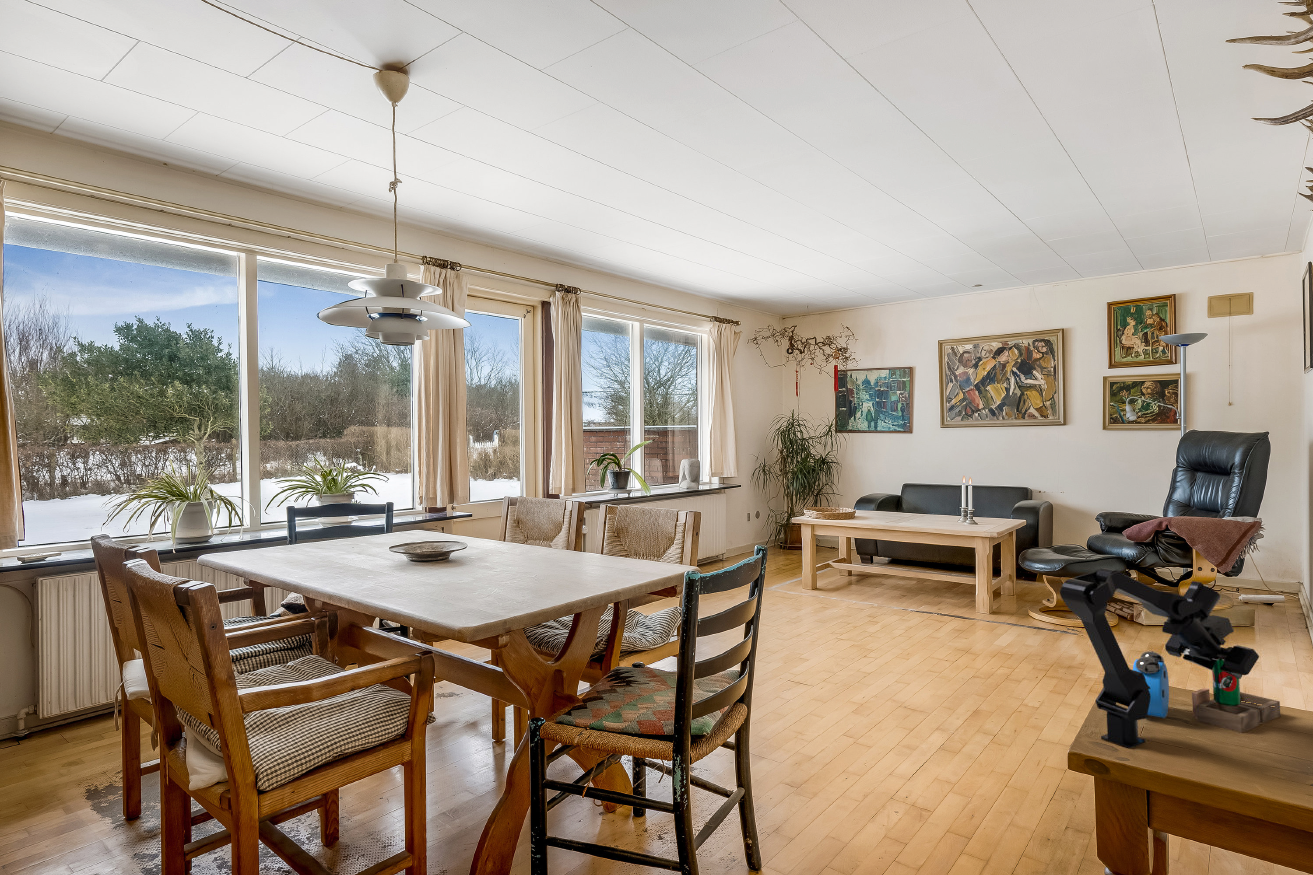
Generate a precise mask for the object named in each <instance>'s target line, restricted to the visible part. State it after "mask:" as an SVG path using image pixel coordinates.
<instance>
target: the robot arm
mask: <svg viewBox="0 0 1313 875" xmlns="http://www.w3.org/2000/svg"><path fill="white" fill-rule="evenodd" d="M1116 592H1118V593H1120V594H1121V595H1124V596H1126V597H1128V598H1130V599H1132V600H1135V601H1137V602H1139V603H1140V604H1141V605H1142V607H1143V609H1144V610H1145V609H1146V611H1148V612H1149V613H1150V614H1152V615H1154V616H1158V617H1162V618H1167V619H1166V621H1163V626H1162V628H1161V629H1162V630H1161V631H1162V633H1165V634H1170V635H1171V636H1170V637H1169V639H1167V642H1166V643H1165V645H1164V649H1165V651H1166V652H1167V653H1168V654H1169V655H1170V656H1173V657H1175V658H1176V657H1177V658H1181V657H1182V658H1183V660H1185V661H1188V662H1189V663H1192V664H1196V665H1197V666H1200V667H1202V668H1205V669H1206V670H1210V671H1212V663H1211V660H1212V659H1214V660H1219V659H1220V658H1222V660H1223V661H1224V662H1223V663H1224V664H1223V665H1222V667H1221V668H1220V670H1222V671H1224V672H1226V673H1228V674H1230V675H1232V676H1234V677H1236V678H1238V679H1239V680H1241V679H1242V677H1243V676H1247V675H1249V674H1250V672H1251V671H1252V670H1253V667H1254V666H1255V665H1256V663H1257V661H1258V660H1259V658H1260V655H1259V653H1258V652H1256V650H1255V649H1254V648H1251V647H1246V646H1241V645H1238V644H1237V645H1233V646H1228V647H1222V646H1224V645H1225V644H1226V640H1225V638H1226V637H1227V636H1229V635H1230V634H1232V633H1234V631H1235V630H1234V627H1233V625H1232V623H1231V621H1230V618H1228V617H1224V616H1219V615H1214V614H1213V615H1212V614H1211V613H1212V611H1213V610H1214V608H1215V607H1216V605H1217V604H1218V602H1219V601H1220V600H1221V594H1220V593H1219V592H1218V591H1216V590H1214V589H1212V588H1211V587H1210V586H1206V585H1204V584H1203V583H1202V582H1200V581H1194V580H1192V581H1191V582H1190V585H1189V587H1188V588H1187V589H1186V592H1185V593H1184V595H1183V594H1182V595H1181V594H1176V593H1173V592H1169V591H1168V592H1167V591H1163V590H1158V589H1156V588H1154V587H1152V586H1150V585H1147V584H1145V583H1143V582H1141V581H1139V580H1137V579H1134V578H1132V577H1131V576H1128V575H1126V574H1124V573H1123V572H1121V571H1120V570H1117V569H1112V568H1106V567H1100V568H1097V569H1096V570H1094V571H1091V572H1088V573H1084V574H1081V575H1077V576H1075V577H1073V578H1068V579H1066V580H1065V581H1064V582H1063V584H1062V586H1061V587H1060V589H1059V594H1060V597H1061V599H1062V601H1063V603H1064V604H1065V606H1066V607H1067V609H1069V610H1070V611H1071V612H1072V613H1073V614H1074V615H1075V616H1076V617H1077V618H1078V619H1080V621H1081V623H1082V625H1083V628H1084V629H1085V632H1086V634H1087V636H1088V638H1089V640H1090V643H1091V645H1092V647H1093V649H1094V651H1095V654H1096V655H1097V658H1098V660H1099V662H1100V665H1101V666H1102V669H1103V671H1104V675H1103V678H1102V685H1103V688H1102V690H1101V692H1100V693H1099V694H1098V696H1097V697H1096V698H1095V705H1096V707H1097V709H1099V710H1101V711H1105V712H1106V728H1107V729H1106V732H1107V733H1106V734H1103V735H1101V736H1100V739H1101V740H1104V741H1106V742H1110V743H1112V744H1116V745H1119V746H1122V747H1125V748H1129V749H1132V748H1135V747H1136V746H1139V745H1141V744H1145V743H1146V739H1143V738H1141V737H1139V730H1138V729H1139V728H1138V727H1139V726H1138V721H1140V720H1146V719H1147V716H1148V715H1147V713H1148V709H1149V704H1150V698H1151V696H1150V692H1149V690H1148V689H1150V687H1149V686H1148V684H1147V683H1146V679H1145V676H1144V675H1143V673H1141V672H1137V671H1134V670H1133V669H1131V668H1130V667H1129V665H1128V663H1127V661H1126V659H1125V656H1124V654H1123V652H1122V649H1121V648H1120V645H1119V642H1118V641H1117V639H1116V637H1115V634H1114V632H1113V630H1112V627H1111V625H1110V623H1109V621H1108V618H1107V617H1106V611H1107V608H1108V600H1110V599H1112V598H1113V597H1114V595H1115V593H1116ZM1122 705H1123V706H1122ZM1124 706H1125V707H1124ZM1126 707H1127V708H1126Z"/></svg>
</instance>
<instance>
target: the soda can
mask: <svg viewBox="0 0 1313 875" xmlns="http://www.w3.org/2000/svg"><path fill="white" fill-rule="evenodd" d="M1223 662H1224V661H1223V660H1222V658H1220V659H1219V660H1214V659H1212V660H1211V663H1212V670H1211V674H1212V675H1211V676H1212V677H1211V678H1212V691H1213V692H1212V694H1213V699H1214V700H1215V701H1216V702H1217V703H1219V704H1221V705H1225V706H1238V705H1239V704H1241V697H1240V692H1241V685H1240V684H1241V683H1240V682H1241V681H1240V679H1238V678H1236V677H1234V676H1232V675H1230V674H1228V673H1226V672H1224V671H1222V670H1220V668H1221V667H1222V665H1223V664H1224V663H1223Z"/></svg>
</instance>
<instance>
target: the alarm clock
mask: <svg viewBox="0 0 1313 875" xmlns="http://www.w3.org/2000/svg"><path fill="white" fill-rule="evenodd" d="M1132 670H1134V671H1137V672H1141V673H1143V675H1144V676H1145V679H1146V683H1147V684H1148V686H1149V687H1150V689H1148V690H1149V692H1150V696H1151V698H1150V704H1149V709H1148V713H1147V716H1151V717H1156V718H1157V717H1158V718H1163V719H1164V718H1166V717H1167V715H1168V712H1169V702H1170V701H1169V700H1170V684H1169V682H1170V680H1169V675H1168V674H1169V672H1168V668H1167V665H1166V664H1165V659H1164V657H1163V656H1162V655H1161V654H1160V653H1158V652H1155V651H1153V650H1151V651H1150V650H1149V651H1145V652H1144V651H1143V653H1141V655H1140V658H1138V659H1135V660H1134V662H1133V666H1132Z"/></svg>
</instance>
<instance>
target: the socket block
mask: <svg viewBox="0 0 1313 875" xmlns="http://www.w3.org/2000/svg"><path fill="white" fill-rule="evenodd" d="M1210 696H1211V694H1210V688H1207V687H1204V688H1203V687H1202V688H1201V689H1197V690H1195V691H1192V692H1191V700H1192V701H1191V702H1192V717H1193V718H1196V721H1197V722H1200V723H1201V722H1202V723H1205V724H1210V725H1212V726H1216V727H1220V728H1223V729H1225V730H1226V729H1227V730H1231V731H1235V732H1237V733H1244V732H1247V731H1248V730H1251V729H1254V728H1256V727H1258V726H1260V725H1261V724H1265V723H1267V722H1270V721H1272V720H1274V719H1277V718H1278V717H1281V703H1280V702H1281V701H1279V700H1276V699H1270V698H1267V697H1263V696H1258V695H1255V694H1250V693H1247V692H1242V691H1240V697H1241V701H1245V702H1241V704H1239V705H1238V706H1225V705H1221V704H1219V703H1217V702H1216V701H1215V700H1214V698H1213V699H1211V697H1210ZM1246 702H1251V703H1246ZM1254 703H1256V704H1254ZM1257 704H1262V705H1257ZM1271 706H1275V707H1271ZM1276 717H1277V718H1276Z"/></svg>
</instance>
